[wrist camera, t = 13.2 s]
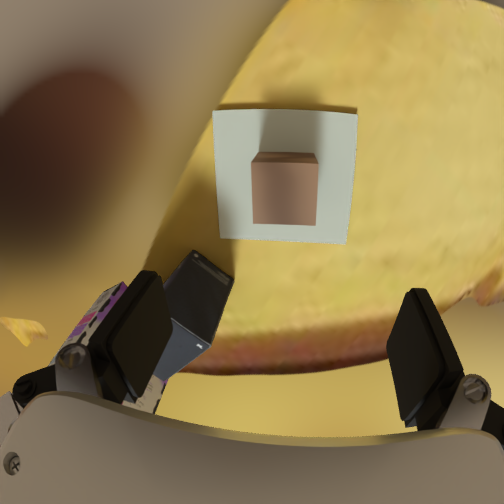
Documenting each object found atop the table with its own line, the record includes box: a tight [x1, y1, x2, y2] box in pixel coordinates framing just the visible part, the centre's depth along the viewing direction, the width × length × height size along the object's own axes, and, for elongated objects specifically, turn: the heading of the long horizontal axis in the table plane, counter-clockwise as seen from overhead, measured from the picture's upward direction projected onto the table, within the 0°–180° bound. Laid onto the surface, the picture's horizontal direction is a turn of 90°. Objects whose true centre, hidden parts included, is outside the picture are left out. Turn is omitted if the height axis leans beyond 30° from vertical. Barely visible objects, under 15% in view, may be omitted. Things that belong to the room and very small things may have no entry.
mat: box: [213, 109, 358, 244], centre depth 26 cm, size 13×13×1 cm
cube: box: [251, 152, 319, 226], centre depth 23 cm, size 5×5×5 cm
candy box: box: [48, 282, 168, 414], centre depth 32 cm, size 14×6×16 cm, turn 30°
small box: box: [153, 250, 234, 381], centre depth 30 cm, size 11×6×10 cm, turn 141°
